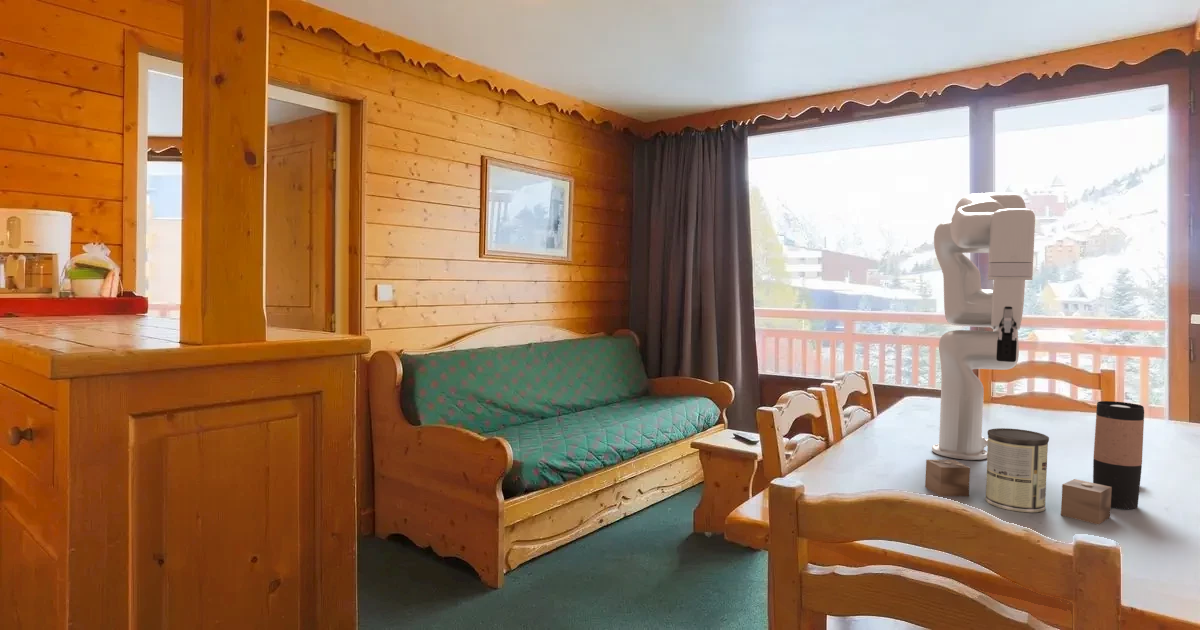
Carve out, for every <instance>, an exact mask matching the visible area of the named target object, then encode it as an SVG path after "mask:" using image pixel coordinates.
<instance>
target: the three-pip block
mask: <svg viewBox="0 0 1200 630" xmlns="http://www.w3.org/2000/svg"><path fill="white" fill-rule="evenodd" d="M970 475H971V467H970V466H967V464H964V463H962V462H959V461H957V459H926V460H925V477H924V479H925V481H924V482H925V483H924V485H925V486H924V487H925V488H926V489H928V490H929V491H931V492H933V493H934V494H936V495H938V496H939V497H970V483H971V482H970V481H971V480H970V477H971V476H970Z"/></svg>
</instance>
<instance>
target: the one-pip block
mask: <svg viewBox="0 0 1200 630" xmlns="http://www.w3.org/2000/svg"><path fill="white" fill-rule="evenodd" d="M1111 492H1112V487H1110V486H1105V485H1100V484H1096V483H1093V482H1090V481H1085V480H1080V479H1077V478H1074V479H1071V480H1069V481H1066V482H1064V483H1063V484H1062V485H1061V500H1060V501H1061V503H1060V504H1061V506H1060V516H1064V517H1067V518H1069V519H1076V520H1078V521H1083V522H1087V523H1091V524H1095V525H1098V526H1099V525H1100V524H1102V523H1104V522H1106V521H1107V520H1109V519H1111V509H1112V508H1111Z"/></svg>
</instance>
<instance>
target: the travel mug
mask: <svg viewBox="0 0 1200 630" xmlns="http://www.w3.org/2000/svg"><path fill="white" fill-rule="evenodd" d="M1144 424H1145V407H1144V405H1141V404H1138V403H1137V404H1136V403H1131V402H1125V401H1124V402H1123V401H1115V400H1114V401H1112V400H1101V401H1097V402H1096V415H1095V429H1094V445H1093V462H1092V464H1093V466H1092V483H1096V484H1100V485H1105V486H1110V487H1112V492H1111V509H1117V510H1124V511H1128V510H1131V511H1132V510H1136V509H1138V507H1139V506H1138V505H1139V497H1140V489H1141V485H1140V484H1141V479H1142V477H1141V476H1142V465H1143V449H1144V448H1143V446H1144V430H1145V429H1144Z"/></svg>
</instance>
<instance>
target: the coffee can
mask: <svg viewBox="0 0 1200 630" xmlns="http://www.w3.org/2000/svg"><path fill="white" fill-rule="evenodd" d="M987 439H988V446H987V449H986V451H987V458H986V479H985V480H986V484H985V498H984V500H985V502H986V503H988V504H989V505H991V506H994V507H996V508H999V509H1003V510H1007V511H1012V512H1019V513H1041V512H1044V511H1046V496H1047V491H1046V490H1047V476H1048V475H1047V469H1048V451H1049V450H1048V449H1049V448H1048V447H1049V441H1050V437H1049V436H1048V435H1046V434H1044V433H1041V432H1038V431H1037V432H1036V431H1032V430H1026V429H1018V428H1008V427H1007V428H1005V427H1004V428H1002V427H1001V428H999V427H998V428H991V429H988V430H987Z"/></svg>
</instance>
